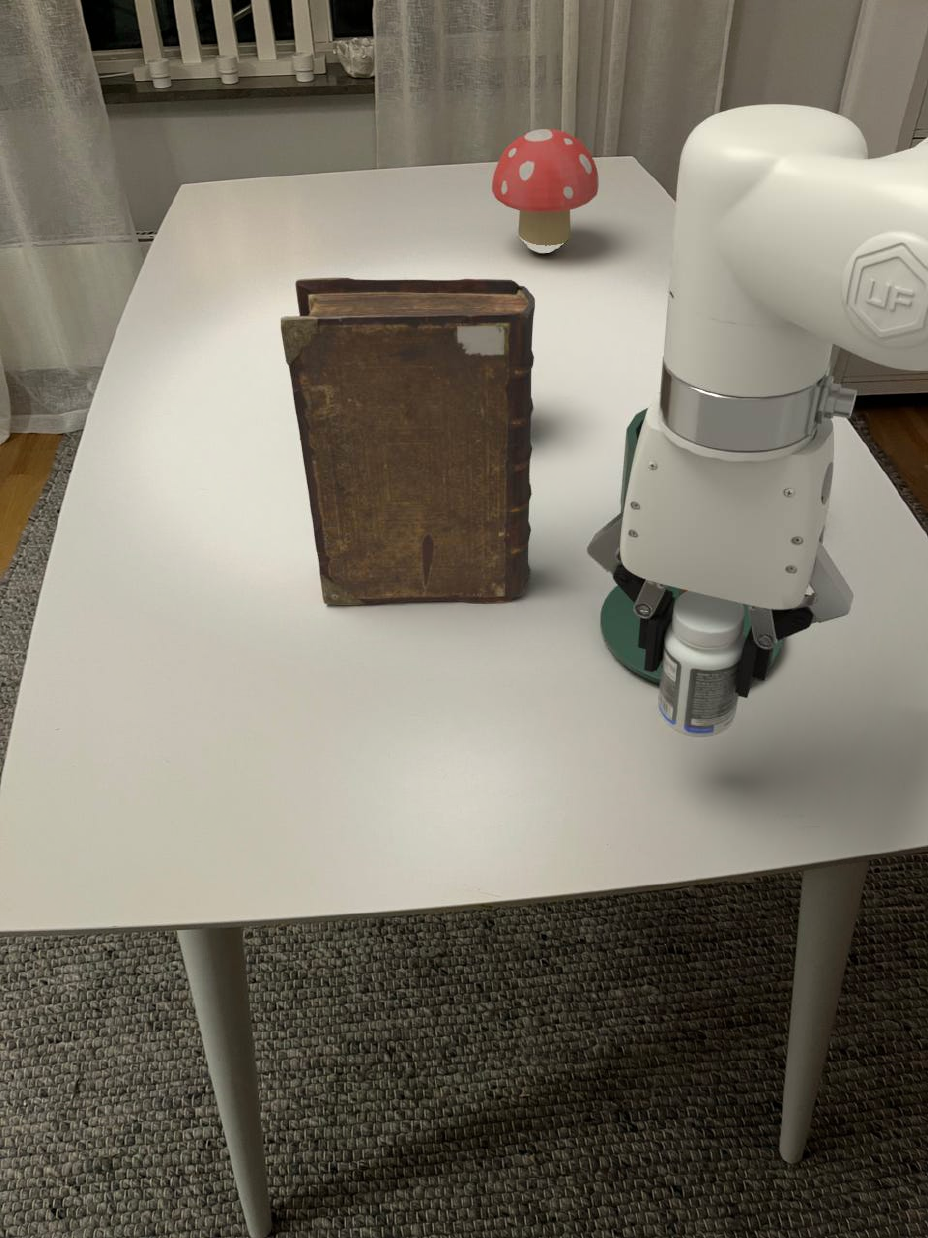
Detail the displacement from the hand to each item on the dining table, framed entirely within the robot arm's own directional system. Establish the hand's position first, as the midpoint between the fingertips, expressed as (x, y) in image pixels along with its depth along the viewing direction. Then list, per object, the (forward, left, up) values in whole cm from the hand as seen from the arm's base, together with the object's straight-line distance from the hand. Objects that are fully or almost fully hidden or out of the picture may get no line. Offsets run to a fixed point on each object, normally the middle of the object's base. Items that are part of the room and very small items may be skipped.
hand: (701, 666), depth 61 cm
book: (+25, -11, -11) cm, 29 cm away
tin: (+8, -29, -10) cm, 32 cm away
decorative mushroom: (+41, -78, -11) cm, 89 cm away
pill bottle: (0, 0, -4) cm, 4 cm away
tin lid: (+4, -14, -10) cm, 18 cm away
